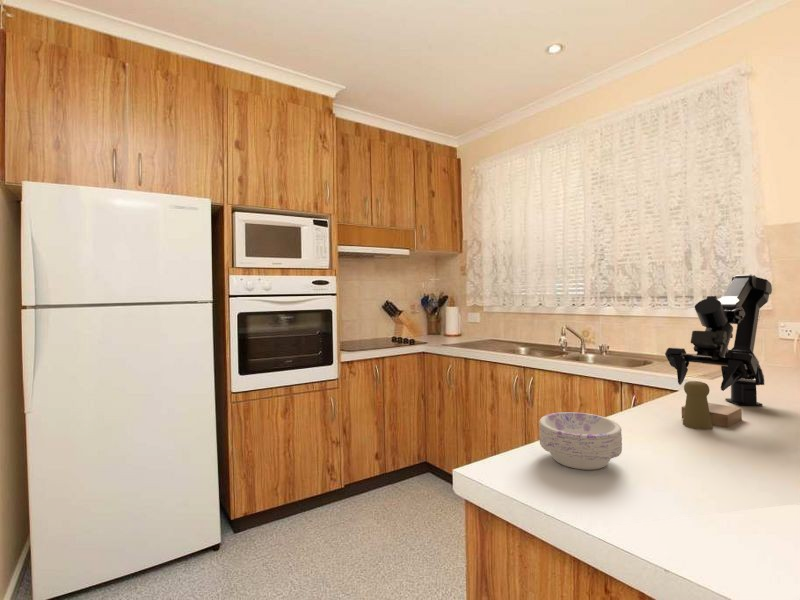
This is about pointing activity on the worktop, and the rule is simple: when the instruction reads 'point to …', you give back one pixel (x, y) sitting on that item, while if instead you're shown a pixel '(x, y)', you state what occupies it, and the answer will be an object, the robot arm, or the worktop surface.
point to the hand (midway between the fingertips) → (699, 386)
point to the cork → (697, 406)
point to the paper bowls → (580, 439)
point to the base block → (722, 414)
